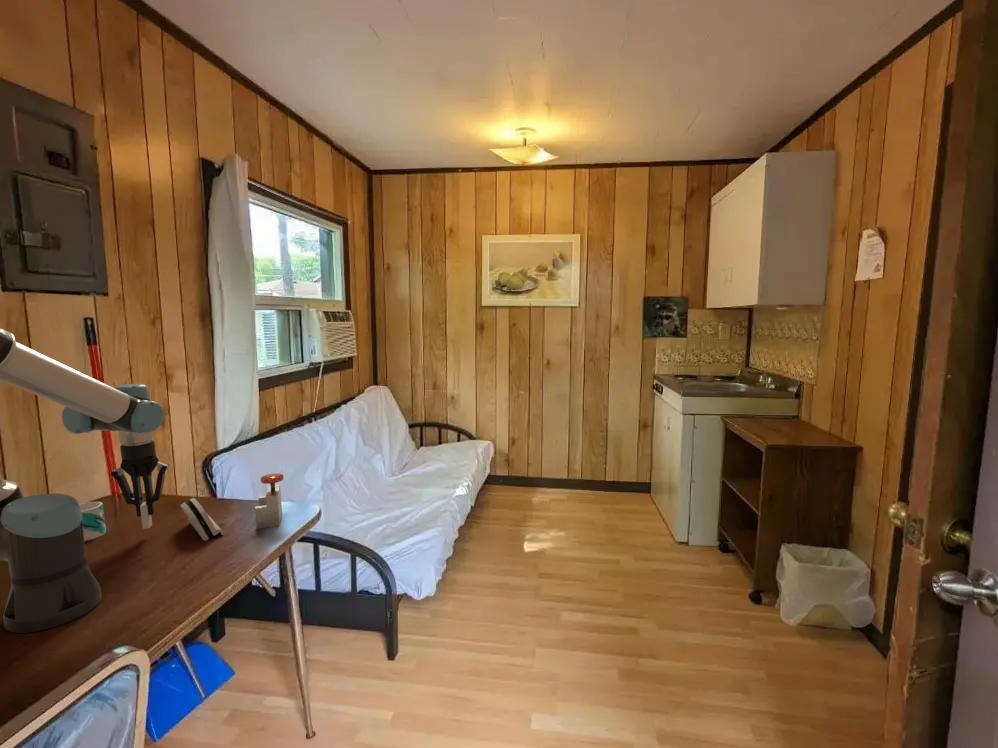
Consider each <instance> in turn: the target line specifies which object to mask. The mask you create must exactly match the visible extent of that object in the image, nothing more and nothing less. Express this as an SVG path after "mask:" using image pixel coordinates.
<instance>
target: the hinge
mask: <svg viewBox="0 0 998 748" xmlns="http://www.w3.org/2000/svg"><path fill="white" fill-rule="evenodd" d="M180 508H181V510H182V511H183V512H184V515H185V516H186V518H187V520H188V521H189V524H191V526H192V527H193V529H194V530H195V531H196V533H197V534H198V535H199V536H200V537H201V539H202V541H204V542H207V540H209V539H210V537H211V536H216V535H218V534H221V536H222V535H223V536H225V533H224V531H223V529H222V528H220V526H219V525H218V524H217V523H216V522H215V521H214V519H213V518H212V517H211V516H210V515H209V514H208V513H207V512H206V510H205V509H204V508H203V505H201V504H200V502H199V501H198V500H197V499H196V498H195V497H192V498H190V499H188V501H187V502H183V503H181V504H180Z"/></svg>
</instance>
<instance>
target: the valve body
mask: <svg viewBox="0 0 998 748" xmlns="http://www.w3.org/2000/svg"><path fill="white" fill-rule="evenodd" d="M283 480H284V474H283V473H270V474H266V475H263V476H261V477H260V483H262V484H265V485H266V484H267V485H268V484H270V485H268V488H267V491H266V495H261V496H258V498H257V499H258V500H257V501H258V505H256V506H254V515H255V527H256V528H255V530H260V529H267V528H274V527H280V526H281V519H282V515H283V509H282V506H283V505H282V497H281V496H282V495H281V484H280V483H279V482H282V481H283ZM276 483H279V484H276ZM266 527H267V528H266ZM259 528H260V529H259Z"/></svg>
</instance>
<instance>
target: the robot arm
mask: <svg viewBox="0 0 998 748" xmlns="http://www.w3.org/2000/svg"><path fill="white" fill-rule="evenodd" d="M0 382H2V383H4V384H8V385H10V386H12V387H15V388H18V389H20V390H23V391H26V392H28V393H31V394H33V395H35V396H38V397H39V398H42V399H45V400H49V401H50V402H53V403H56V404H59V405H60V406H63V407H64V408H63V409H62V412H61V418H62V419H61V420H62V423H63V426H64V427H65V429H66V430H67V431H68V432H70V433H71V434H74V435H77V434H78V435H79V434H83V433H84V434H85V433H86V434H88V433H90V432H93V431H107V432H108V431H109V432H118V440H119V444H121V445H120V446H119V447H120V456H121V463H120V466H119V467H117V468H115V469H113V470H112V471H111V473H110V475H111V476H112V477H113V478H114V479H115V480H116V482H117V484H118V487H119V489H120V491H121V494H122V496H123V498H124V499H125V503H126V504H127V505H133V506H135V511H136V512H135V513H136V516H137V517H141V525H142V530H145V529H150V528H151V527H152V526H153V521H152V515H154V514H155V511H156V510H155V509H156V508H155V502H158V501H159V500H160V499H161V497H162V493H163V488H164V483H165V475H166V472H167V470H168V468H169V467H170V465H169V463H164V462H161V461H160V459H159V458H158V456H157V452H156V444H155V441H154V438H155V436H154V432H155V431H157V430H159V428H160V427H161V426H162V424H163V423H164V420H165V410H164V409H163V406H162V405H161V404H160V403H158V402H156V401H154V400H153V401H152V400H151V398H150V394H149V393H150V392H149V389H148V386H147V385H146V384H143V383H128V384H120V385H117V386H114V387H113V386H110V385H108V384H106V383H104V382H102V381H100V380H97V379H96V378H93V377H92V376H89V375H87V374H84V372H83V373H82V372H81V371H79V370H76V369H74V368H73V367H70V366H68V365H66V364H64V363H62V362H60V361H58V360H55V359H54V358H52V357H50V356H49V357H48V356H47V355H46V354H43V353H41V352H38V351H36V350H35V349H34V348H33V349H32V348H30V347H28V346H26V345H24V344H22V343H20V342H18V341H16V339H15V335H14V334H13V333H11V332H10V331H8V330H6V329H4V328H2V327H0ZM156 467H157V468H156ZM155 469H156V470H157V472H158V473H157V477H156V481H155V482H156V483H155V489H154V488H153V487H154V486H153V479H152V476H153V475H152V473H153V472H154V471H155ZM125 473H126V474H128V476H130V480H131V484H132V489H131V486H130V484H129V482H128V479H127V477H126V475H125ZM141 477H142V481H143V488H144V497H145V499H144V497H143V489H142V481H141ZM79 504H80V503H79V501H78V500H77V499H76V498H75V497H74V496H71V495H69V494H66V493H65V494H63V493H55V492H53V493H49V494H46V493H39V494H33V495H28V496H24V495H23V493H22V490H21V489H20V487H19V486H18V484H17V482H15V481H12V480H7V479H4V478H3V475H2V474H1V473H0V561H2V562H7V564H8V570H9V577H10V589H9V593H8V597H7V600H6V604H5V608H4V609H3V610H4V611H3V614H2V616H3V617H2V618H3V626H4V629H5V630H6V631H8V632H9V633H16V634H19V633H20V634H24V633H25V634H26V633H33V632H39V631H43V630H48V629H52V628H56V627H58V626H62V625H64V624H67V623H69V622H71V621H74V620H76V619H78V618H80V617H82V616H83V615H86V614H87V613H89V612H91V611H92V610H93V609H95V608H96V607H97V606H98V605H99V604H100V603H101V601H102V598H103V595H102V588H101V586H100V583H99V582H98V579H96V577H95V576H94V574H93V571H91V569H90V567H89V566H88V561H87V553H86V544H85V541H84V535H83V526H82V513H81V510H80V506H79Z"/></svg>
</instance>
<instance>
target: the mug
mask: <svg viewBox="0 0 998 748" xmlns="http://www.w3.org/2000/svg"><path fill="white" fill-rule="evenodd" d="M79 506H80V510H81V513H82V526H83V535H84V542H86V541H90V540H91V541H92V540H94V539H96V538H99V537H102V536H104V535H105V534H106V532H107V527H106V519H105V511H104V504H103V502H101V501H87V502H82V503H79Z"/></svg>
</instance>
